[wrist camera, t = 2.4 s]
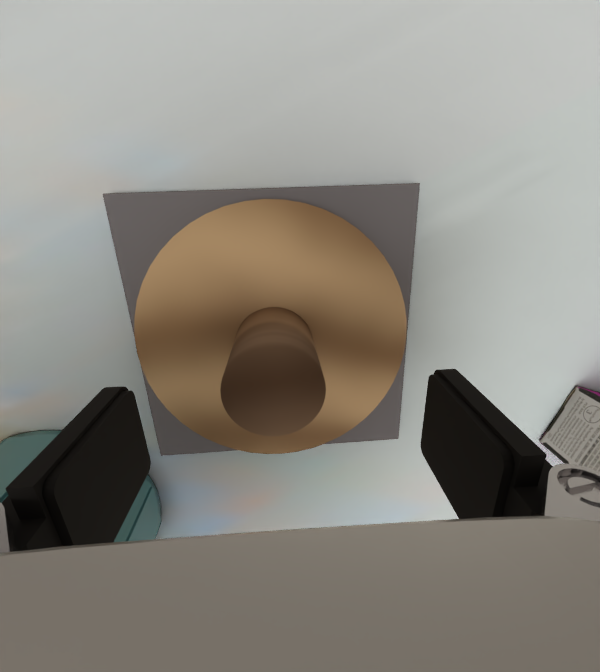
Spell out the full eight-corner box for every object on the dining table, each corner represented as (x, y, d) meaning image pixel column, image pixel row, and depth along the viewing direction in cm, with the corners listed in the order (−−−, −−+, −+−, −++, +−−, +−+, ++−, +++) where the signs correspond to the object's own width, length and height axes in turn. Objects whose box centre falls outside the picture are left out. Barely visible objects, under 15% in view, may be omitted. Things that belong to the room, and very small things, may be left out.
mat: (395, 432, 22) (398, 438, 22) (163, 449, 21) (160, 455, 21) (415, 184, 17) (419, 183, 16) (109, 194, 16) (102, 193, 16)
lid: (391, 432, 21) (434, 515, 16) (167, 448, 21) (125, 541, 15) (408, 194, 16) (480, 185, 11) (116, 205, 16) (23, 201, 10)
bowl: (174, 560, 25) (137, 685, 18) (5, 574, 24) (-95, 709, 18) (141, 423, 21) (79, 522, 14) (-64, 437, 20) (-228, 547, 13)
